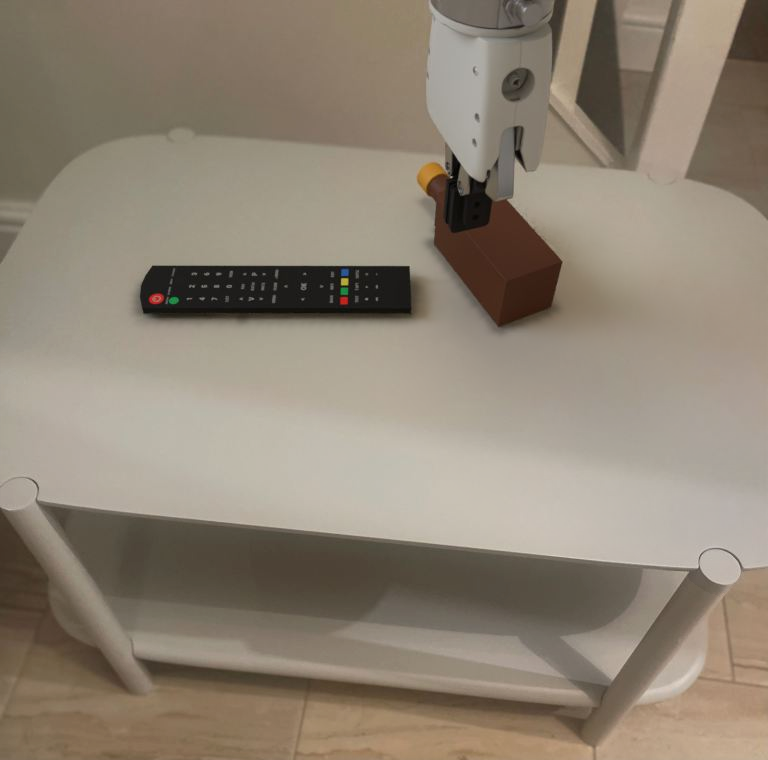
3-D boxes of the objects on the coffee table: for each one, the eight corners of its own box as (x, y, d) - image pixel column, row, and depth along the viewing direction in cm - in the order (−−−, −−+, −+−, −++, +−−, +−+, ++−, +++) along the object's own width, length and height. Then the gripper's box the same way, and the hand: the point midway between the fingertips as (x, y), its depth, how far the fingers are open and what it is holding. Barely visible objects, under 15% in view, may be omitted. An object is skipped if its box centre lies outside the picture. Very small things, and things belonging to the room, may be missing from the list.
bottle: (551, 307, 71) (451, 189, 81) (563, 261, 67) (455, 142, 77) (498, 327, 70) (403, 204, 80) (506, 281, 65) (404, 157, 76)
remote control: (410, 318, 70) (411, 308, 69) (138, 318, 70) (135, 307, 69) (409, 276, 73) (409, 265, 72) (149, 276, 73) (146, 265, 72)
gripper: (611, 33, 43) (552, 276, 58) (499, -77, 52) (472, 158, 66) (485, 56, 42) (457, 300, 56) (391, -61, 51) (388, 175, 65)
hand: (465, 222), depth 61 cm, fingers closed
